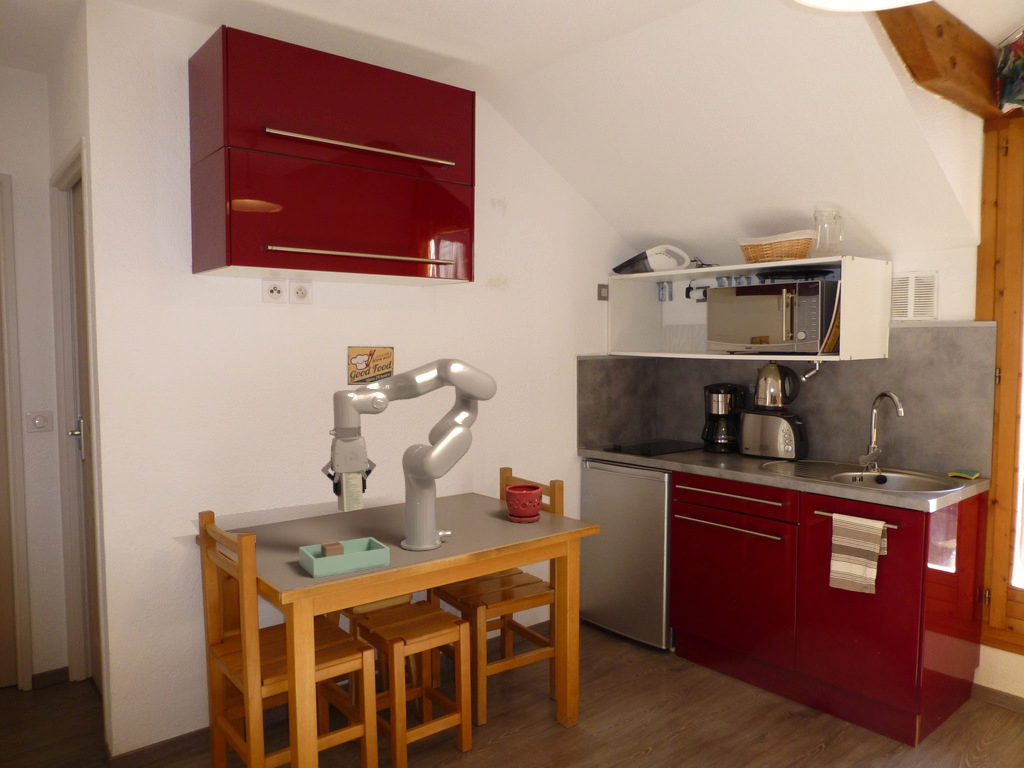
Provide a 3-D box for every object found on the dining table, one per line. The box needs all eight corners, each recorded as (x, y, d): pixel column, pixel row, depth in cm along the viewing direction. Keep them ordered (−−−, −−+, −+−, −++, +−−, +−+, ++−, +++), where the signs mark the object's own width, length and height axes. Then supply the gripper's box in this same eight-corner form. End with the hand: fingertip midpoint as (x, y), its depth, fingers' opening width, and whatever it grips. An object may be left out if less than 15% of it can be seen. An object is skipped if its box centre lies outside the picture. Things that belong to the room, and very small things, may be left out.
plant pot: (505, 516, 271) (505, 483, 271) (541, 516, 271) (541, 483, 271) (505, 524, 258) (505, 490, 258) (543, 524, 258) (543, 490, 258)
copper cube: (343, 563, 210) (343, 545, 210) (326, 566, 208) (326, 548, 207) (338, 559, 214) (338, 541, 214) (321, 561, 212) (320, 544, 212)
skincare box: (356, 506, 221) (355, 465, 220) (363, 508, 217) (362, 467, 217) (337, 509, 217) (335, 468, 216) (343, 512, 214) (342, 470, 213)
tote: (371, 553, 223) (371, 536, 223) (389, 565, 210) (389, 548, 210) (299, 564, 212) (299, 547, 212) (313, 578, 199) (313, 559, 199)
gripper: (320, 436, 208) (323, 499, 210) (380, 431, 217) (382, 492, 218) (314, 434, 215) (317, 495, 216) (372, 429, 223) (374, 488, 224)
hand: (350, 493), depth 217 cm, fingers closed on skincare box, 6 cm apart
